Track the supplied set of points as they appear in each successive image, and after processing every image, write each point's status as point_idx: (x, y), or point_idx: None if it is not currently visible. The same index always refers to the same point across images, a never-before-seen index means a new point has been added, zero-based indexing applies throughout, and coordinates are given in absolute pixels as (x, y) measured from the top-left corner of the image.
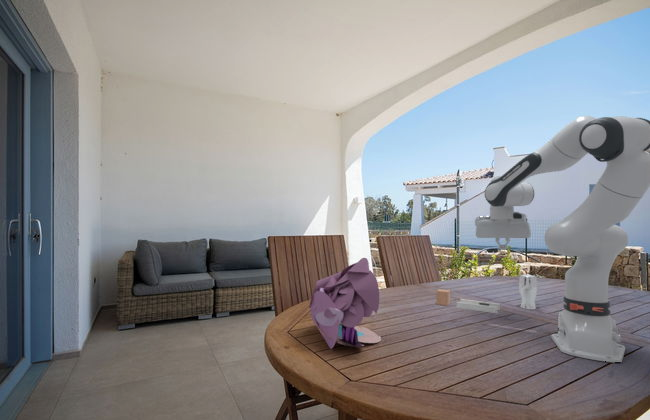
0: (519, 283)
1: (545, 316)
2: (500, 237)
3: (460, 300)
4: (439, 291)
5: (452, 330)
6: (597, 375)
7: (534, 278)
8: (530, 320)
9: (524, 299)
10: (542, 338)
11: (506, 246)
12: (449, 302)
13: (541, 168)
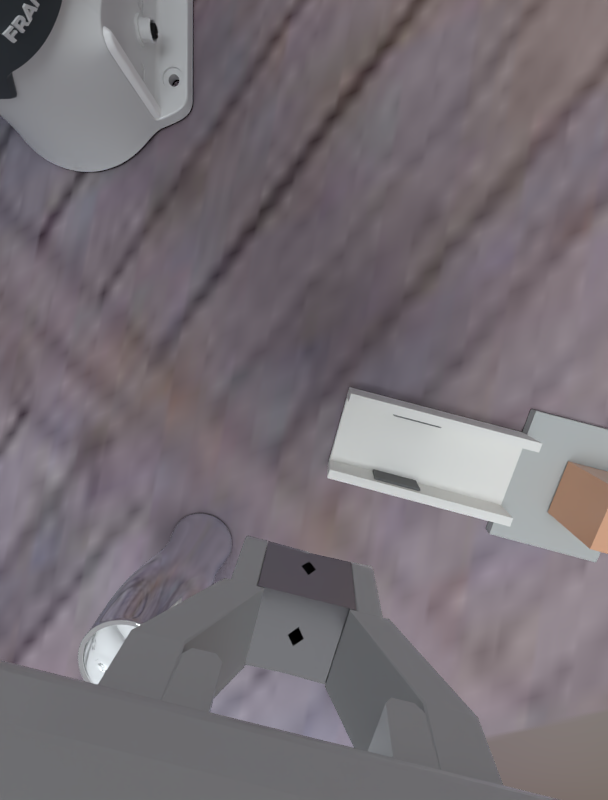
0: None
1: (153, 452)
2: (366, 755)
3: (508, 514)
4: None
5: (594, 44)
6: None
7: (99, 621)
8: (223, 362)
9: (203, 549)
10: (226, 86)
11: (239, 558)
12: (560, 496)
13: None
